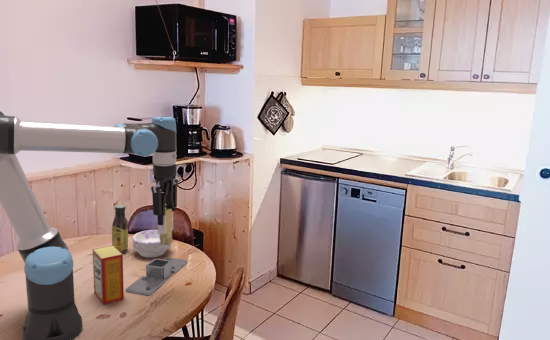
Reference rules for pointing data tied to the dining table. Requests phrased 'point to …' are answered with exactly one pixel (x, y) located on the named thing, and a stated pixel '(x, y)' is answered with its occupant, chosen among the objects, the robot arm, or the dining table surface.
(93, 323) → the dining table surface
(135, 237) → the paper bowls
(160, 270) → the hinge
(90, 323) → the dining table surface
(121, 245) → the sauce bottle
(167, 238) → the hinge pin
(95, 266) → the baking soda box
